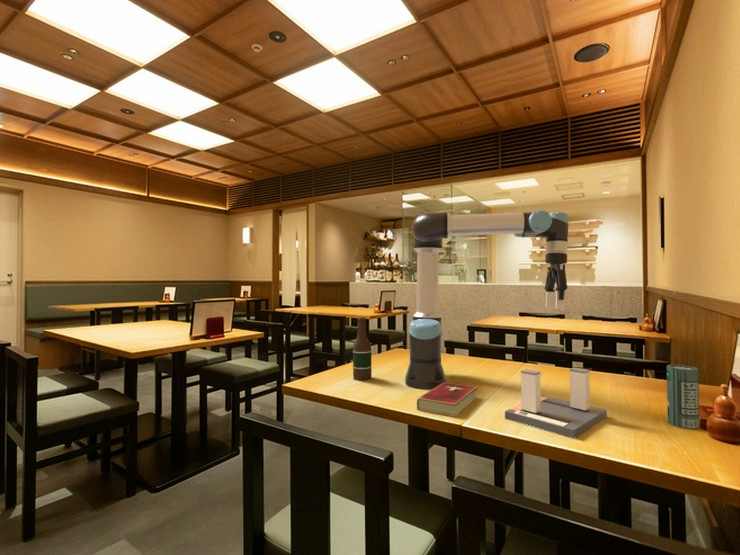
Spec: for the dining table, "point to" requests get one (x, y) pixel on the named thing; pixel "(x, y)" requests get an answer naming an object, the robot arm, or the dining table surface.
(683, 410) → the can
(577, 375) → the back tab
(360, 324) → the beer bottle
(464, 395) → the hardcover book
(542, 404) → the switch base
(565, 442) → the dining table surface
